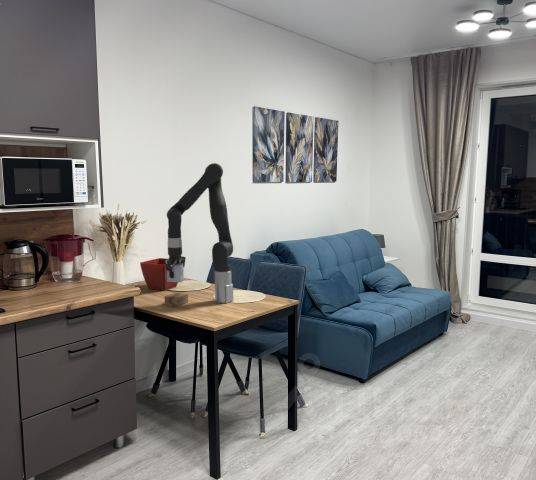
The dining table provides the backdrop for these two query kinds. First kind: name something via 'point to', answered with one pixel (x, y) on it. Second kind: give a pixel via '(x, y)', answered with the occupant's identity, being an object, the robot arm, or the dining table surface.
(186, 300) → the walnut block
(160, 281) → the plant pot
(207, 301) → the dining table surface
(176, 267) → the medicine box
